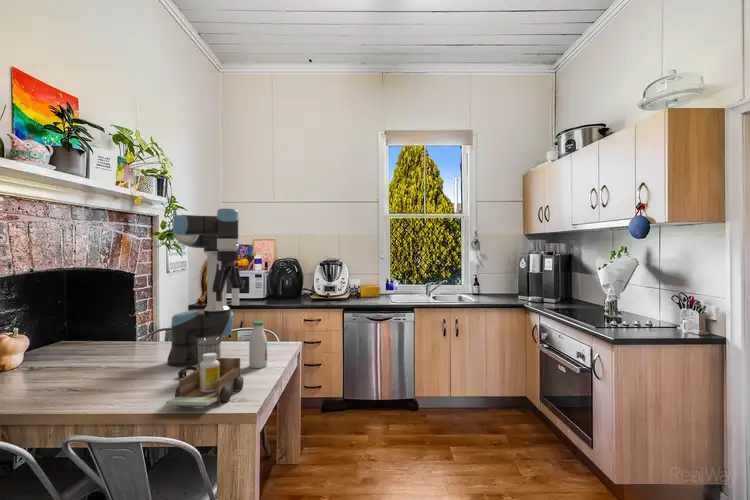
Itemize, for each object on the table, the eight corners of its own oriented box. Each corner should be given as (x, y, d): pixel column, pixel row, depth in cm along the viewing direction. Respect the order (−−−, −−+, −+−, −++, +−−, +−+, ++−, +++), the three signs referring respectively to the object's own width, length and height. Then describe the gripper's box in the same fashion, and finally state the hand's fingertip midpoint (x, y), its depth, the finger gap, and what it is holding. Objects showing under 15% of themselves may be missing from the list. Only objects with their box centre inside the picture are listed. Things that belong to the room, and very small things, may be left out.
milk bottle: (262, 369, 182) (262, 323, 182) (246, 368, 184) (246, 322, 184) (270, 364, 190) (270, 320, 190) (254, 363, 191) (254, 320, 191)
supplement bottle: (223, 388, 151) (223, 353, 151) (210, 394, 145) (210, 357, 145) (209, 386, 153) (209, 351, 153) (195, 392, 147) (195, 355, 147)
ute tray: (174, 403, 142) (174, 371, 142) (200, 386, 160) (199, 357, 160) (224, 404, 141) (224, 372, 141) (245, 387, 159) (244, 358, 159)
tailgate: (177, 401, 140) (165, 406, 133) (178, 396, 141) (166, 401, 133) (216, 402, 139) (206, 407, 132) (217, 397, 140) (207, 402, 132)
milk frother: (223, 379, 168) (223, 342, 168) (180, 385, 160) (180, 347, 160) (217, 370, 180) (217, 336, 180) (177, 376, 173) (177, 340, 173)
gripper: (223, 250, 142) (223, 312, 142) (250, 250, 167) (250, 303, 167) (201, 250, 143) (201, 312, 143) (231, 250, 168) (232, 303, 168)
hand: (228, 307), depth 155 cm, fingers open, 13 cm apart
